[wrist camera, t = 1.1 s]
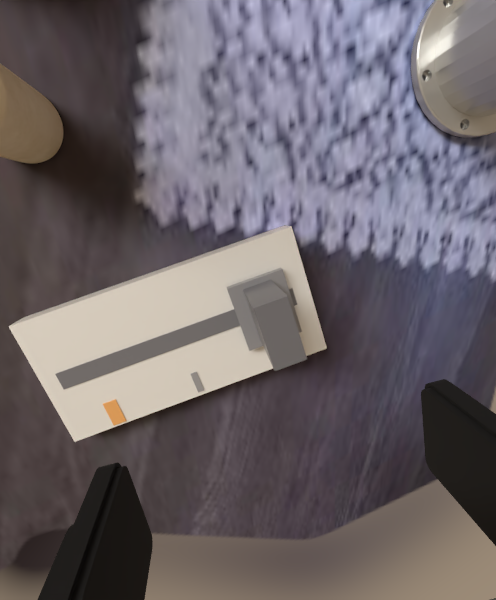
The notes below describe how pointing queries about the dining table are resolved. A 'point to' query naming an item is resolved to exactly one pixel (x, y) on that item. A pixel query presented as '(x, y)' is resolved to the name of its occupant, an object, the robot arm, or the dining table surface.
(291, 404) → the dining table surface
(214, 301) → the fader console
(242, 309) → the fader tab
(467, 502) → the robot arm
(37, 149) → the candle
